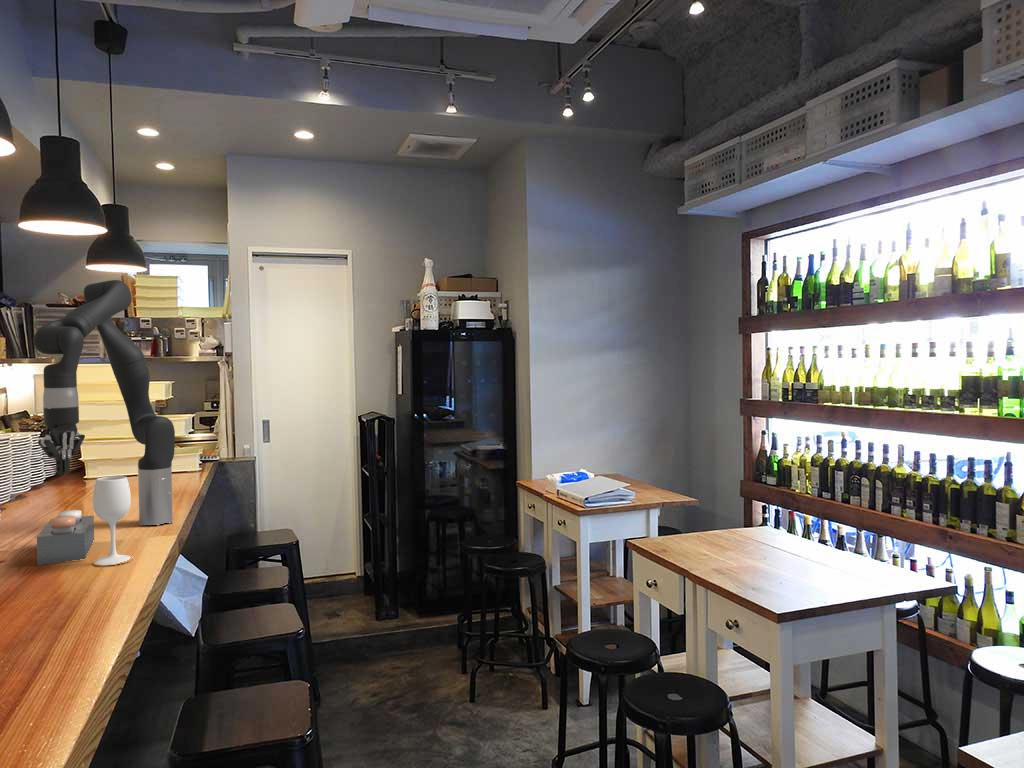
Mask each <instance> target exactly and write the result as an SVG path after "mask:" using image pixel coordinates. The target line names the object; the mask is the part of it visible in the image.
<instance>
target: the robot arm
mask: <svg viewBox="0 0 1024 768" xmlns="http://www.w3.org/2000/svg"><path fill="white" fill-rule="evenodd" d="M83 298H84V302H85V303H84V304H81V305H80V306H77V307H75V308H74V309H72V310H71V311H69V312H68V313H67V314H65V315H64V316H63V317H62V318H58V319H55V320H54V321H50V322H47V323H46V324H43V325H42V326H40V327H39V328H38V329H37V330H36V331H35V333H34V336H33V339H32V341H33V347H34V348H35V349H36V350H37V351H38V352H39V353H41V354H44V355H63V356H62V357H61V359H60V361H58V362H55V363H52V364H48V365H45V366H44V368H43V394H42V395H43V396H42V407H43V408H42V409H43V411H42V412H43V424H44V425H45V426H46V430H45V436H44V437H43V438H42V439H38V440H37V444H38V445H39V447H41V449H42V451H43V452H44V453H45V455H46V456H47V457H48V458H49V459H54V460H55V468H56V469H55V470H56V471H55V472H56V473H57V474H58V475H66V474H67V475H68V474H70V470H71V458H72V457H73V456H76V455H77V454H78V452H79V450H80V448H81V446H82V444H83V442H84V440H85V438H86V436H85V434H82V433H79V431H78V426H77V424H78V423H80V409H79V408H80V407H79V406H80V405H79V393H78V383H77V382H78V379H77V378H78V377H77V376H78V375H77V371H78V367H79V363H80V357H81V355H82V352H83V347H84V345H85V342H84V341H85V338H86V337H87V336H89V334H91V333H92V332H93V331H94V330H95V329H97V331H98V334H99V335H100V339H101V340H102V343H103V346H104V349H105V352H106V354H107V357H108V361H109V364H110V367H111V370H112V372H113V375H114V378H115V380H116V382H117V385H118V387H119V390H120V394H121V396H122V398H123V401H124V404H125V408H126V411H127V415H128V421H129V424H130V428H131V432H132V435H133V437H134V439H135V440H136V442H138V443H140V444H141V445H144V454H143V456H141V457H140V458H139V459H138V461H137V472H138V478H137V479H138V481H137V482H138V485H137V487H138V522H139V523H138V524H141V525H140V526H142V525H157V524H164V523H169V522H172V521H173V522H174V520H173V519H174V518H173V517H174V516H173V514H174V513H173V478H172V477H173V476H172V475H173V473H172V463H173V460H174V457H175V446H176V445H175V444H176V435H175V434H176V433H175V432H176V431H175V426H174V423H173V421H172V420H171V419H170V418H168V417H166V416H161V415H156V413H155V410H154V408H153V406H152V403H151V400H150V399H151V398H150V381H151V380H150V379H151V377H150V369H149V366H148V363H147V361H146V357H145V355H144V352H143V351H142V349H141V348H140V347H139V346H138V345H137V344H136V343H135V342H133V341H132V339H130V338H129V337H127V336H126V335H125V334H124V333H123V332H122V331H121V330H120V329H119V328H118V327H117V325H116V323H115V322H114V320H113V318H112V317H113V316H115V315H117V314H118V313H120V312H123V311H125V310H127V309H128V308H130V306H131V304H132V301H133V300H132V299H133V298H132V293H131V289H130V287H129V285H127V283H125V282H124V281H123V280H120V279H109V280H105V281H99V282H94V283H90V284H87V285H86V286H85V287H84V289H83ZM169 524H170V523H169ZM164 525H165V524H164ZM157 526H158V525H157Z"/></svg>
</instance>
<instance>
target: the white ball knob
mask: <svg viewBox="0 0 1024 768" xmlns="http://www.w3.org/2000/svg"><path fill="white" fill-rule="evenodd" d="M82 515H83V514H82V510H80V509H69V510H64V511H60V512H58V517H64V516H74V517H76V522H80V519H82Z"/></svg>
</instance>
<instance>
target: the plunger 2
mask: <svg viewBox="0 0 1024 768" xmlns="http://www.w3.org/2000/svg"><path fill="white" fill-rule="evenodd" d="M50 520H51V527H52V528H53V534H54V533H66V532H74V526H75V525H76V517H74V516H64V517H59V516H58V517H53V518H50Z"/></svg>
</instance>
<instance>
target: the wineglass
mask: <svg viewBox="0 0 1024 768" xmlns="http://www.w3.org/2000/svg"><path fill="white" fill-rule="evenodd" d="M128 480H129V479H128V477H127V476H123V475H113V476H112V475H111V476H104V477H98V478H97V479H95V484H94V488H93V495H92V496H93V497H92V505H93V511H94V513H95V515H96V516H97V518H99V519H100V520H102V521H104V522H106V523H107V524H108V525H109V531H110V550H109V554H108V555H107V556H103V557H101V558H98V559H96V560H95V561H93V563H95V564H99V565H108V564H116V563H120V562H124V561H127V560H129V559H130V558H131V557H132V556H131V557H130V555H127V554H118V552H117V548H116V525H117V523H118V522H119V521H120V520H122V519H123V518H125V516H126V515H127V514H128V512H129V511H130V509H131V503H132V500H131V499H132V497H131V496H132V495H131V494H132V493H131V489H130V483H129V481H128Z"/></svg>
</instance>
